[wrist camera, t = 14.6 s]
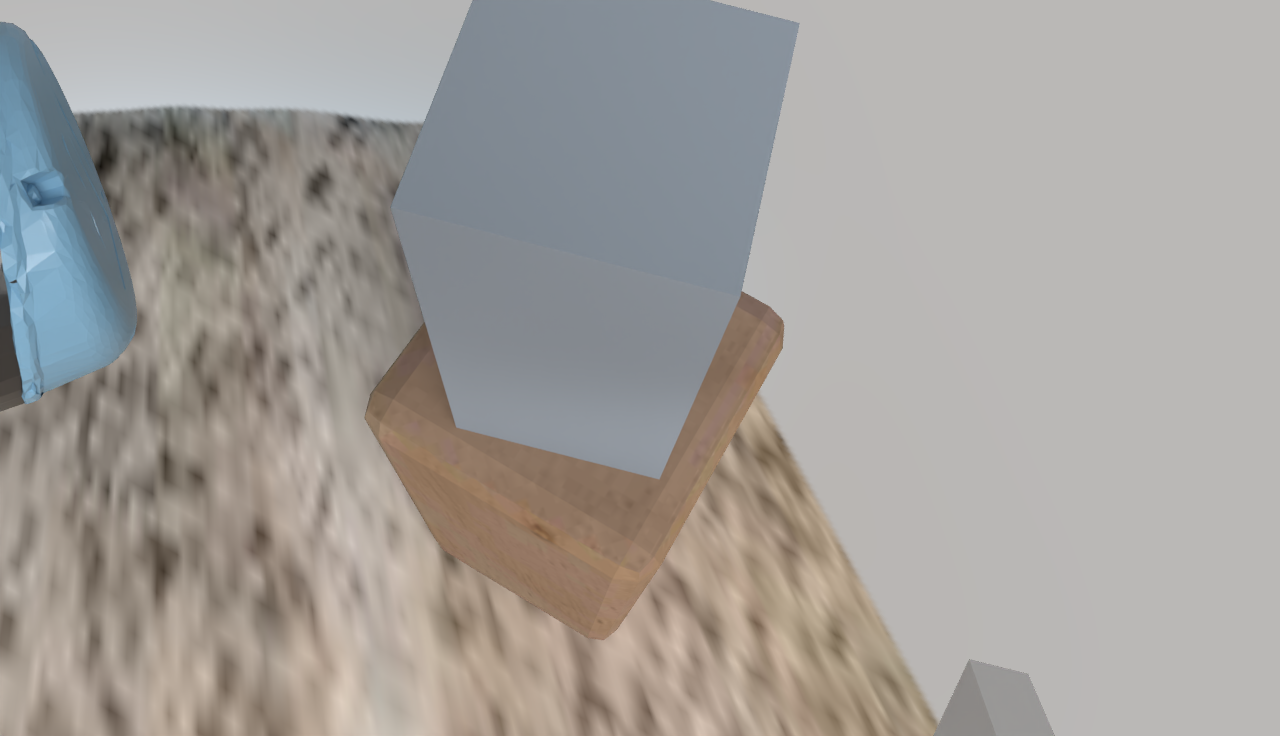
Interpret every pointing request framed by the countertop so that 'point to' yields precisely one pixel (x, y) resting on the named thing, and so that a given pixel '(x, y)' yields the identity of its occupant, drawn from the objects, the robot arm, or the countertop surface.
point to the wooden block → (563, 482)
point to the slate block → (590, 214)
